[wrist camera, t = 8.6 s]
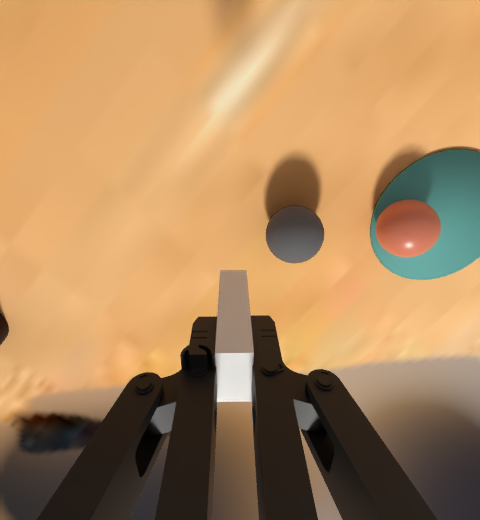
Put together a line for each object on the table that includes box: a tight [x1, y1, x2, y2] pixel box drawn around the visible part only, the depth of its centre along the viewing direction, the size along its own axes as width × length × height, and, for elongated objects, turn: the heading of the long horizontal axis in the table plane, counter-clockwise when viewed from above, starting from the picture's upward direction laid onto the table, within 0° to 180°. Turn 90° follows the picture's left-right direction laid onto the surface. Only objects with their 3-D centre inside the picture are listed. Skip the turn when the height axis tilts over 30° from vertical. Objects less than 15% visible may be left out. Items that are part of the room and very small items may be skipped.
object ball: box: [375, 200, 441, 257], centre depth 29 cm, size 6×6×6 cm
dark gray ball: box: [266, 206, 324, 263], centre depth 29 cm, size 6×6×6 cm
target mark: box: [370, 149, 480, 280], centre depth 32 cm, size 14×14×1 cm
